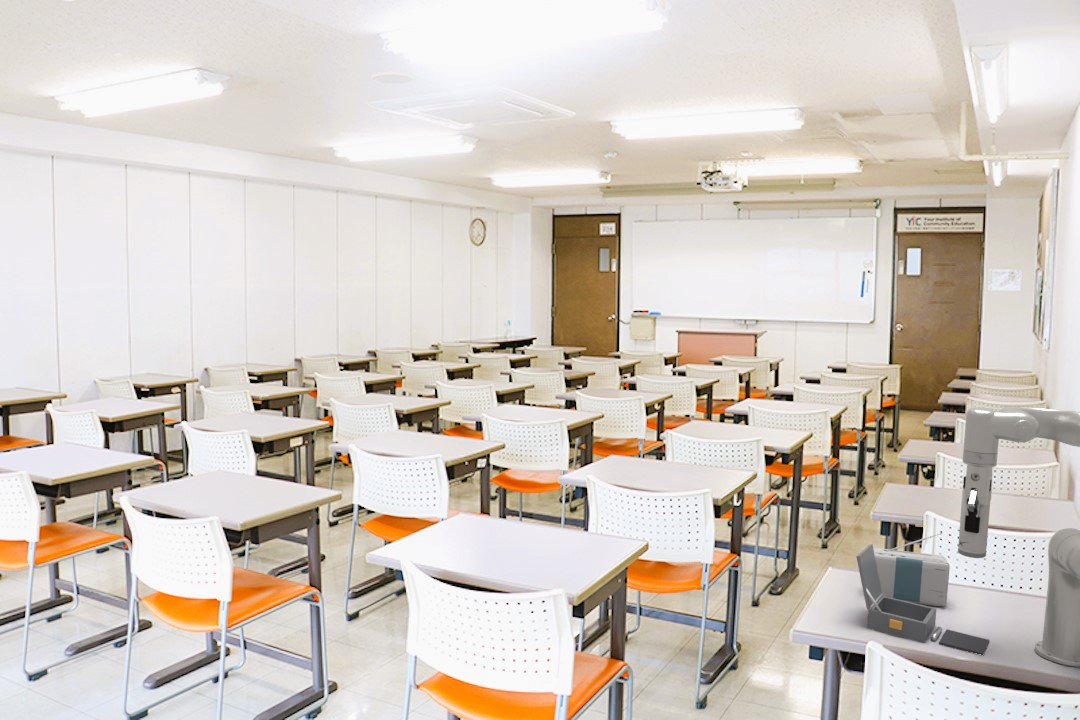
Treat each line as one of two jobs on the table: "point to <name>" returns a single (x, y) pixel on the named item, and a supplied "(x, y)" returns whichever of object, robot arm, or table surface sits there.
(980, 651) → the pad
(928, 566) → the stereo radio cassette player
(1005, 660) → the table surface
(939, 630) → the rod
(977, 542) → the travel mug
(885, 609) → the case
